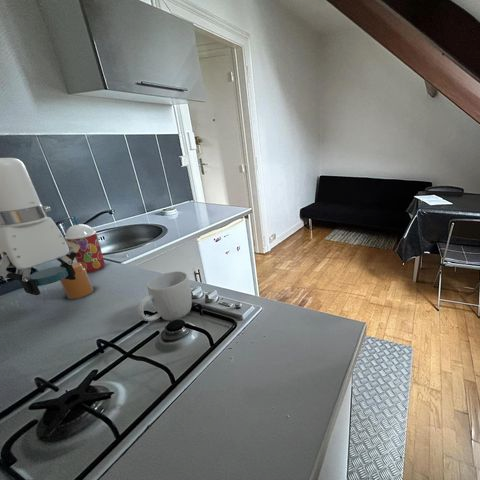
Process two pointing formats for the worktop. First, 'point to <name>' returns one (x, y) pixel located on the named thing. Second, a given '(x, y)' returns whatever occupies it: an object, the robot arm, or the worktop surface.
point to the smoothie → (86, 246)
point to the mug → (168, 296)
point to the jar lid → (49, 275)
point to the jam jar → (77, 283)
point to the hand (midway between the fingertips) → (53, 285)
